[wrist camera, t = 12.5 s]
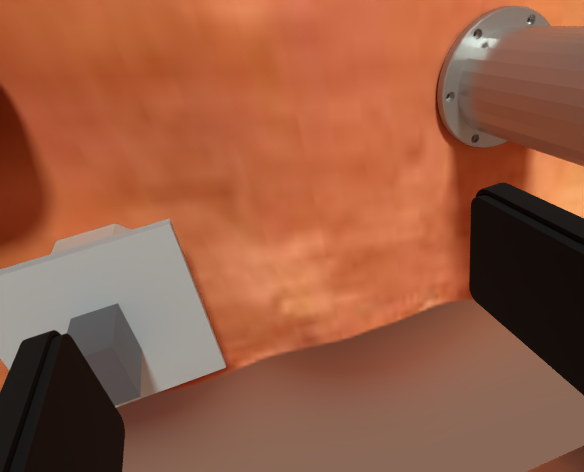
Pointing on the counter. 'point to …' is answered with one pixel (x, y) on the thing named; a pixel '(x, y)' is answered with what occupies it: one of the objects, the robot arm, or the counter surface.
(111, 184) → the counter surface
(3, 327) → the lid
